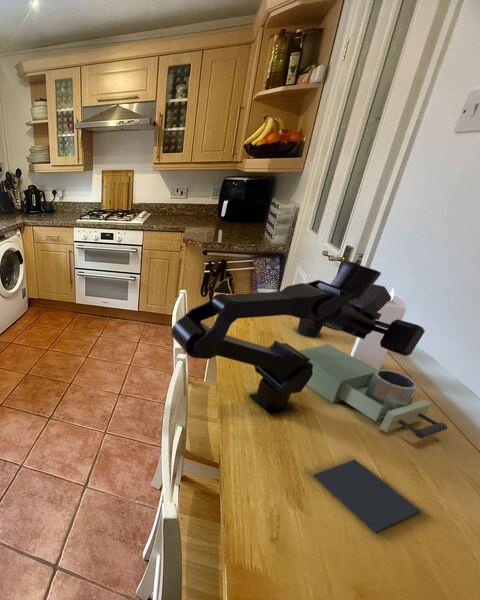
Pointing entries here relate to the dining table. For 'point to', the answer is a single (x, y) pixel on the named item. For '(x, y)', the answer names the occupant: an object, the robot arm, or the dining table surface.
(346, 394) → the drawer
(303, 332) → the cup
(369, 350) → the milk
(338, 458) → the dining table surface
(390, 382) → the tumbler
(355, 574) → the dining table surface
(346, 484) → the pad
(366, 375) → the sage green angled casing
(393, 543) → the dining table surface
